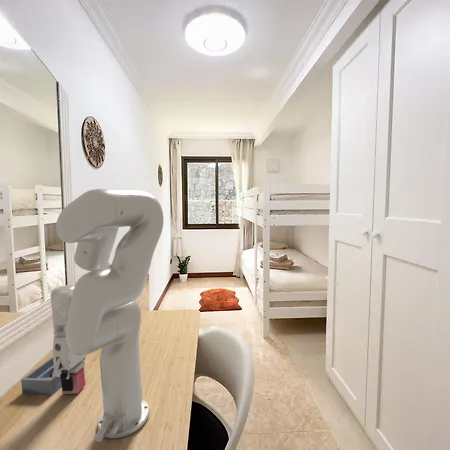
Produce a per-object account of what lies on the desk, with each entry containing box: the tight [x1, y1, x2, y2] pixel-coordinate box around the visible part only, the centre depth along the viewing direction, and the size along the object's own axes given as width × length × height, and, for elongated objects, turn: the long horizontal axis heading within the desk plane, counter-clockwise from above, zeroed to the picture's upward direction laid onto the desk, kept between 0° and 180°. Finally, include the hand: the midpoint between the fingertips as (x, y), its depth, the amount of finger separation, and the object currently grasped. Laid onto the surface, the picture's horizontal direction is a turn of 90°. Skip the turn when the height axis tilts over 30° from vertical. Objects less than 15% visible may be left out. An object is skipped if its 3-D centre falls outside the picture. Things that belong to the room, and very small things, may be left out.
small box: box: [61, 360, 86, 395], centre depth 82 cm, size 5×4×8 cm
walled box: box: [20, 356, 62, 396], centre depth 88 cm, size 15×10×4 cm, turn 173°
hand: (73, 384), depth 82 cm, fingers closed on small box, 4 cm apart
